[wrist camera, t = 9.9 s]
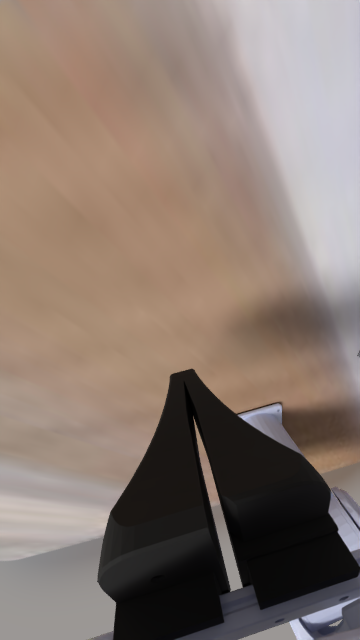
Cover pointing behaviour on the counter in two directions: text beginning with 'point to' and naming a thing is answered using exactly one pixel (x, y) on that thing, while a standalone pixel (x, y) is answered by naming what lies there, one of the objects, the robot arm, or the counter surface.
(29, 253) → the counter surface
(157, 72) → the counter surface
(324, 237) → the counter surface
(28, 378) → the counter surface
